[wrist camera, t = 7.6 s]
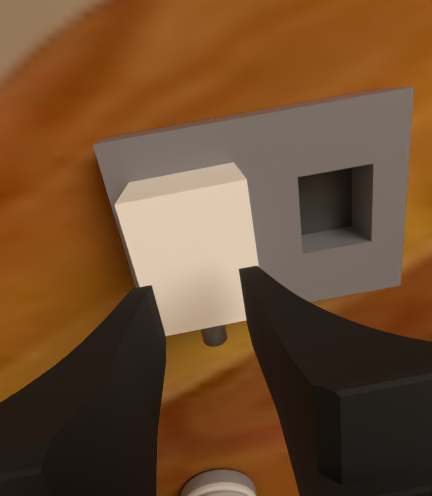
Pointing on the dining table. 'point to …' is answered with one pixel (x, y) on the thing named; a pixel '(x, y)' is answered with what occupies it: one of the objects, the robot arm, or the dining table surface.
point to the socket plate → (297, 184)
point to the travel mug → (220, 484)
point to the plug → (191, 246)
